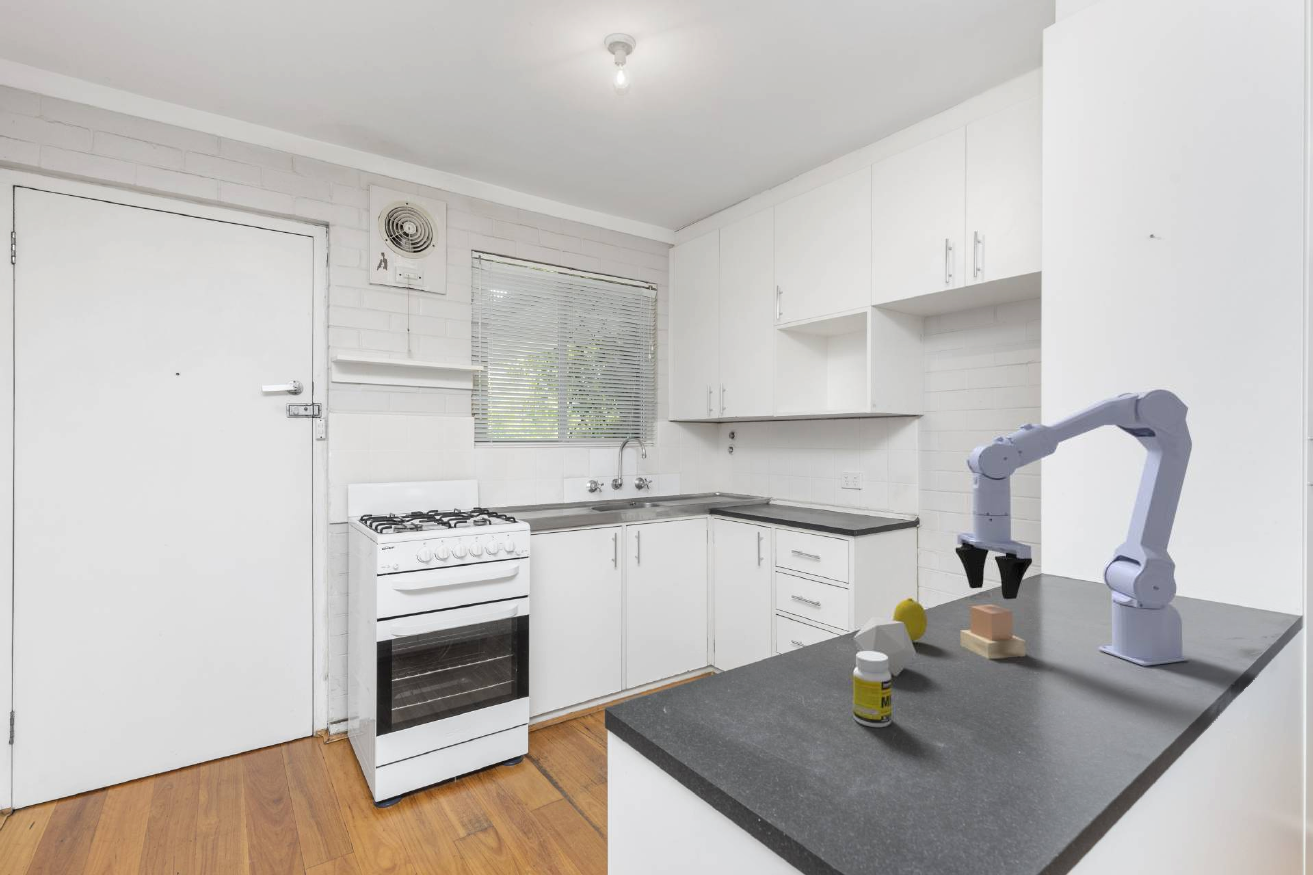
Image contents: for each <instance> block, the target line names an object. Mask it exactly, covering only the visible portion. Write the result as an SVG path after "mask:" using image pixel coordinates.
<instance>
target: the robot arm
mask: <svg viewBox="0 0 1313 875" xmlns="http://www.w3.org/2000/svg"><path fill="white" fill-rule="evenodd" d="M1188 411H1189V407H1188V406H1187V405H1186V404H1185V403H1184V402H1183V401H1182V400H1181V399H1180V398H1179V397H1178V396H1177V395H1176V394H1175V393H1174V392H1172V391H1170V390H1167V389H1154V390H1149V391H1143V392H1134V393H1133V392H1125V393H1121V394H1119V395H1117V396H1116V397H1115V396H1114V397H1109V398H1105V399H1103V400H1101V401H1099V402H1098V401H1097V402H1096V403H1093V404H1091V405H1089V406H1088V407H1085V408H1083V409H1081V410H1079V411H1077V412H1075V413H1073V414H1071V415H1069V416H1067V417H1064V418H1062V419H1059V421H1056V422H1054V423H1051V424H1049V425H1048V426H1047V425H1044V424H1042V423H1033V424H1032V423H1030V422H1027V423H1024V424H1022V425H1020V426H1019V428H1020V429H1019V430H1017V431H1014V432H1013V433H1011V434H1007V435H1005V436H1003V437H1002V436H1000V435H999V436H996V437H995V438H993V441H994V442H993V443H992V444H986V443H984V444H980V445H977V446H976V447H974V449H972V451H971V452H970V454H969V458H968V459H967V460H966V465H967V466H968V469H969V470H970V472H971V473H972V475H973V476H972V482H973V485H972V529H973V530H972V532H973V533H967V532H962V533H960V532H958V533H957V535H956V539H957V541H956V542H957V545H959V547H955V554H957V556H958V558H959V559H960V561H961V564H962V565H963V566H962V567H963V568H964V571H965V572H964V573H965V575H966V578H967V582H968V585H969V589H982V588H983V586H984V585H983V584H984V577H985V576H984V574H985V573H984V572H985V566H986V565H985V564H986V560H987V557H988V554H989V551H991V552H995V553H1000V554H1005V555H998V556H997V555H996V556H994V560H995V562H996V565H997V567H998V570H999V575H1000V583H1001V595H1002V598H1003V599H1004V600H1014V599H1015V600H1016V599H1017V597H1018V594H1019V590H1020V586H1021V583H1022V580H1023V578H1024V576H1025V574H1026V572H1027V571H1028V569H1029V567H1030V566H1031V565H1032V563H1033V558H1032V546H1030V545H1027V544H1024V543H1021V542H1019V541H1015V540H1013V539H1012V533H1011V532H1012V528H1011V527H1012V526H1011V524H1012V523H1011V522H1012V520H1011V518H1012V514H1011V505H1012V504H1011V503H1012V502H1011V476H1013V474H1014V472H1016V470H1017V469H1019V468H1022V467H1024V466H1028V465H1029V464H1031V463H1033V462H1036V461H1039V460H1041V459H1043V458H1046V457H1048V456H1050V455H1053V454H1054V453H1055V452H1056V450H1057V447H1058V445H1059V443H1061V442H1064V441H1067V440H1069V439H1072V438H1074V437H1077V436H1080V435H1082V434H1085V433H1087V432H1090V431H1093V430H1095V429H1099V428H1100V427H1104V426H1116V427H1117V428H1118V429H1120V430H1122V431H1123V432H1125V433H1126V434H1129V435H1130V436H1132V437H1134V438H1135V439H1136V440H1137V441H1138V442H1139V443H1140V444H1141V445H1142V446H1143V448H1145V450H1146V451H1147V453H1146V458H1145V462H1144V464H1143V465H1144V466H1143V470H1142V473H1141V477H1140V481H1139V486H1138V490H1137V494H1136V498H1135V502H1134V506H1133V510H1132V515H1131V518H1130V522H1129V526H1128V530H1127V534H1126V535H1127V536H1126V539H1125V540H1124V542H1123V543H1121V544H1120V545H1118V547H1116V548H1115V549H1114V553H1113V556H1112V558H1111V559H1110V561H1109V562H1108V563H1107V564H1106V565H1105V567H1104V569H1103V573H1102V577H1103V582H1104V583H1105V586H1107V588H1108V589H1109V590H1111V591H1110V592H1111V595H1110V596H1111V645H1105V646H1098V650H1099V651H1100V652H1101V651H1102V652H1104V653H1106V654H1110V655H1112V656H1114V657H1117V658H1121V659H1123V660H1126V661H1129V662H1132V663H1134V664H1137V665H1141V666H1152V665H1161V664H1169V663H1170V664H1171V663H1177V662H1185V661H1189V658H1188V656H1185V655H1183V621H1182V616H1181V614H1180V613H1179V611H1178V609H1177V608H1175V606H1173V605H1172V604H1170V603H1171V602H1172V601H1173V599H1175V596H1176V594H1177V583H1176V580H1175V570H1176V564H1175V562H1174V560H1173V559H1172V557H1171V556H1170V554H1169V552H1168V550H1167V549H1168V546H1169V541H1170V537H1171V534H1172V531H1173V530H1172V529H1173V527H1174V523H1175V519H1176V518H1175V517H1176V514H1177V510H1178V504H1179V501H1180V497H1181V493H1182V489H1183V486H1184V481H1185V478H1186V474H1187V469H1188V465H1189V461H1190V456H1191V452H1192V449H1193V443H1192V438H1191V435H1190V434H1191V433H1190V431H1189V426H1188V423H1187V415H1188Z"/></svg>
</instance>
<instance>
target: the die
mask: <svg viewBox="0 0 1313 875" xmlns="http://www.w3.org/2000/svg"><path fill="white" fill-rule="evenodd" d="M853 642H854V644H855V645H856V648H857V651H858V652H861V651H874V652H879V653H883V654H885V655H886V656H887V657H888V664H889V667H888V671H889V672H890V674H891V676H894V677H898V675H899V674H900V673H902V671H903V670H904V669H905V667H906V666H908V664H909V663H910V661H911V660H913V658H914V657H915V655H916V654H917V652H916V648H915V646H914V645H913V644H914V643H913V642H911V639H910V637H909V634H908V632H907V629H906V627H905V624H904V622H899V621H894V619H889V618H883V617H879V616H872V617H871V618H870V619H869V620H868V621H867V622H866V623H865V624H864V626H862V628H861V629H860V630H859V631H858V632H857V633H856V634H855V635H854V637H853Z"/></svg>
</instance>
